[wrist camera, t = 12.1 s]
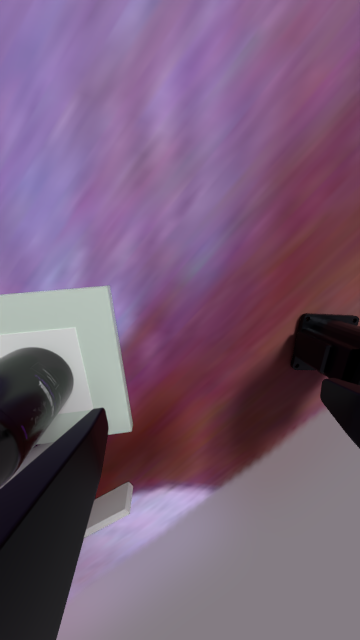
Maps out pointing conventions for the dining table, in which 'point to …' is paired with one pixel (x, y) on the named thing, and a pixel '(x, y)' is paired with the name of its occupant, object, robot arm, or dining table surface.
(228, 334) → the dining table surface
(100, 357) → the docking plate
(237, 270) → the dining table surface
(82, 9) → the dining table surface
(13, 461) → the supplement bottle
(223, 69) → the dining table surface
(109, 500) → the holster
